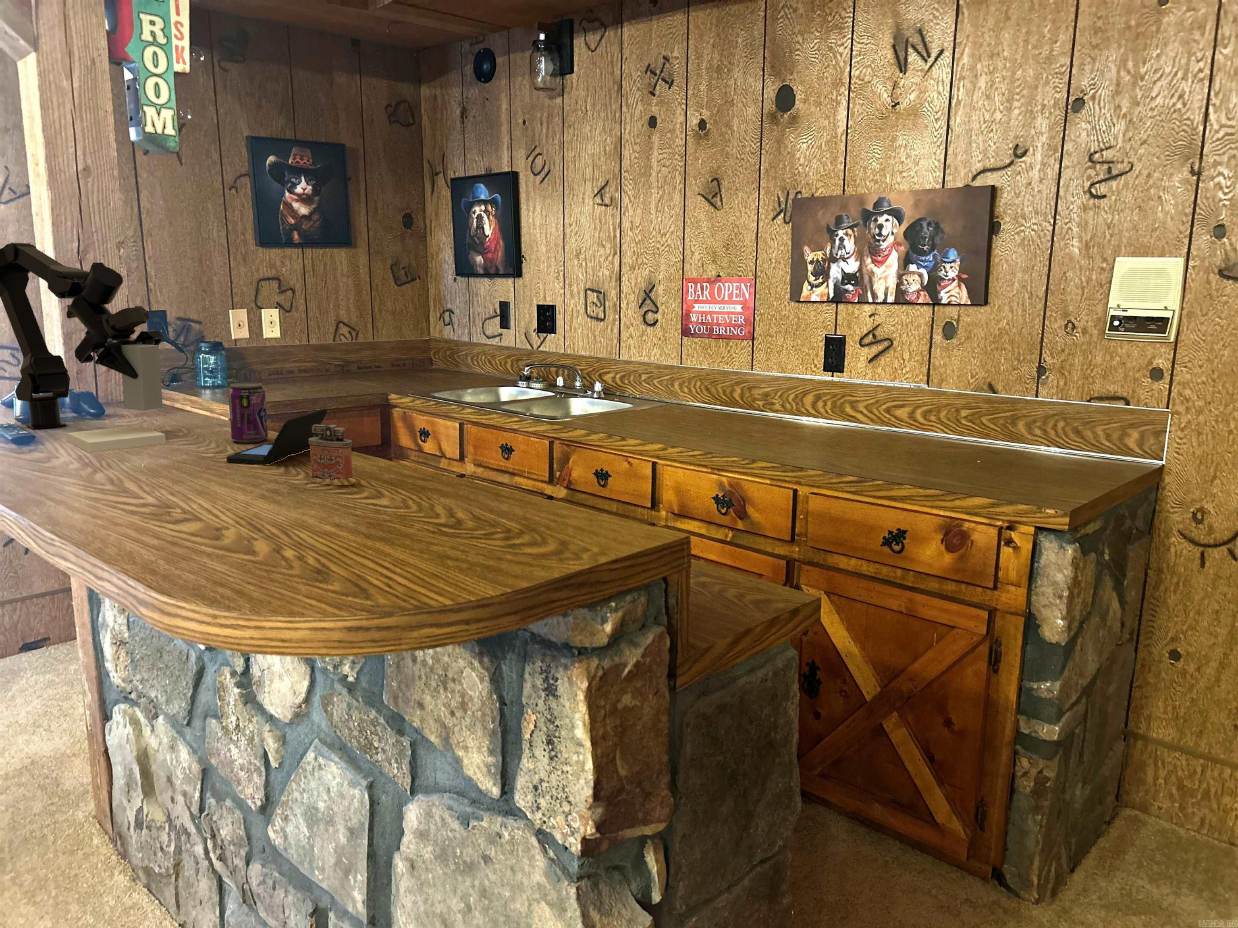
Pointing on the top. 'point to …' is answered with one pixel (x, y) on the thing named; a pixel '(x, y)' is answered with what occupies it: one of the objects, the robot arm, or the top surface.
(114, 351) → the robot arm
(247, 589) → the top surface
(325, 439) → the lighter
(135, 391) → the tall block
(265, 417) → the beverage can
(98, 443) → the slab
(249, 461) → the game console
